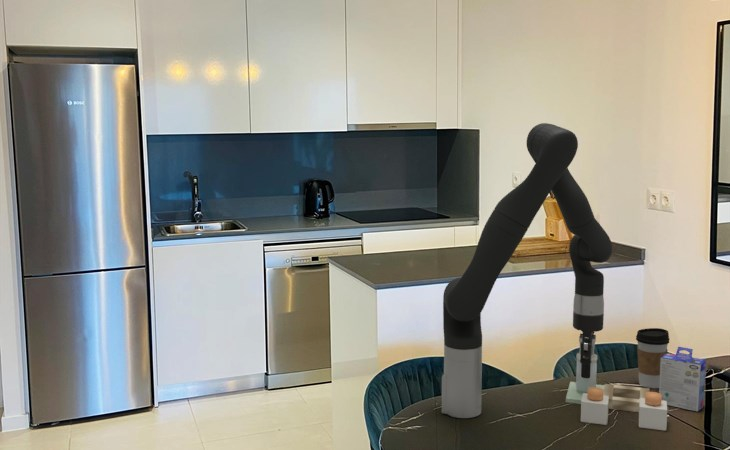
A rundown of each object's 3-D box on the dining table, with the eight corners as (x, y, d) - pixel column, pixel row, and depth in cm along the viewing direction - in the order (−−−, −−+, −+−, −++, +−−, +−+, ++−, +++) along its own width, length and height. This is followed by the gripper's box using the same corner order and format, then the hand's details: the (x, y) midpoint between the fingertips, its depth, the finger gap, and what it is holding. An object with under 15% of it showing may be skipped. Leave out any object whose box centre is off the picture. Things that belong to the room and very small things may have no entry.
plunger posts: (580, 421, 176) (581, 401, 175) (582, 410, 183) (583, 391, 182) (666, 432, 169) (667, 411, 169) (665, 420, 176) (666, 400, 175)
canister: (595, 393, 189) (597, 356, 188) (574, 390, 191) (575, 354, 190) (596, 386, 194) (598, 350, 193) (576, 384, 196) (577, 348, 194)
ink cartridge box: (704, 405, 185) (707, 350, 183) (699, 412, 181) (702, 355, 179) (663, 397, 191) (666, 343, 189) (657, 404, 187) (660, 348, 185)
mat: (565, 402, 188) (565, 398, 188) (570, 385, 200) (570, 381, 200) (602, 406, 185) (602, 402, 185) (604, 388, 197) (605, 385, 197)
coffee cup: (672, 389, 196) (675, 335, 194) (640, 390, 196) (642, 335, 194) (660, 379, 204) (662, 326, 202) (629, 379, 204) (631, 326, 202)
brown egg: (644, 420, 173) (645, 396, 172) (644, 415, 176) (645, 391, 176) (660, 422, 172) (662, 398, 171) (660, 416, 175) (661, 392, 174)
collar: (602, 408, 184) (602, 398, 184) (604, 392, 194) (604, 383, 194) (649, 413, 180) (650, 403, 180) (649, 397, 191) (649, 388, 190)
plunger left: (586, 415, 177) (587, 391, 176) (587, 409, 180) (588, 386, 179) (602, 417, 175) (603, 393, 174) (602, 411, 179) (603, 388, 178)
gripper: (602, 318, 182) (600, 385, 184) (605, 305, 195) (602, 367, 197) (570, 316, 184) (568, 381, 187) (575, 303, 198) (573, 364, 200)
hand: (586, 373), depth 192 cm, fingers closed on canister, 5 cm apart
